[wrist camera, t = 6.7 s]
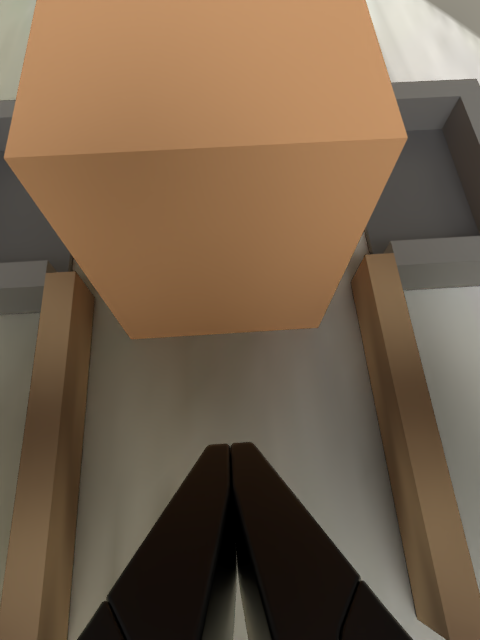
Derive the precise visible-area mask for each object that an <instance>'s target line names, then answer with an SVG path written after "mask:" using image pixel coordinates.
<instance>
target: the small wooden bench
mask: <svg viewBox="0 0 480 640" xmlns="http://www.w3.org/2000/svg"><path fill="white" fill-rule="evenodd" d="M351 285H352V290H353V296H354V301H355V306H356V311H357V316H358V321H359V326H360V331H361V336H362V341H363V346H364V351H365V356H366V361H367V366H368V372H369V377H370V382H371V387H372V392H373V397H374V402H375V407H376V412H377V417H378V422H379V427H380V432H381V437H382V442H383V447H384V453H385V458H386V463H387V468H388V473H389V478H390V483H391V488H392V493H393V498H394V503H395V508H396V513H397V518H398V523H399V529H400V534H401V539H402V544H403V549H404V554H405V559H406V564H407V569H408V574H409V579H410V584H411V589H412V594H413V599H414V604H415V610H416V615H417V619H418V620H419V621H421V622H422V623H424V624H425V625H426V626H428V627H429V628H431V629H432V630H433V631H435V632H436V633H438V634H439V635H441V636H442V637H443V638H445V639H446V640H480V593H479V589H478V585H477V582H476V578H475V574H474V570H473V566H472V562H471V558H470V554H469V550H468V546H467V542H466V538H465V534H464V530H463V526H462V522H461V518H460V514H459V510H458V506H457V502H456V498H455V494H454V490H453V486H452V482H451V478H450V474H449V470H448V466H447V463H446V459H445V455H444V451H443V447H442V443H441V439H440V435H439V431H438V427H437V423H436V419H435V415H434V411H433V407H432V403H431V399H430V395H429V391H428V387H427V383H426V379H425V375H424V371H423V367H422V363H421V359H420V355H419V351H418V348H417V344H416V340H415V336H414V332H413V328H412V324H411V320H410V316H409V312H408V308H407V304H406V300H405V296H404V292H403V288H402V284H401V280H400V276H399V272H398V268H397V264H396V260H395V256H394V253H385V254H368V255H365V256H364V258H363V260H362V262H361V264H360V266H359V268H358V269H357V271H356V273H355V275H354V277H353V279H352V281H351ZM94 299H95V297H94V296H93V294H92V293H91V292H90V290H89V289H88V288H87V286H86V285H85V284H84V282H83V281H82V279H81V278H80V277H79V275H78V274H77V273H76V271H72V272H55V273H46V276H45V283H44V290H43V298H42V305H41V312H40V320H39V327H38V334H37V342H36V349H35V356H34V364H33V371H32V378H31V385H30V393H29V400H28V407H27V415H26V422H25V429H24V437H23V444H22V451H21V459H20V466H19V473H18V481H17V488H16V495H15V503H14V510H13V517H12V525H11V532H10V539H9V546H8V554H7V561H6V568H5V576H4V583H3V590H2V598H1V605H0V640H67V633H68V621H69V608H70V596H71V584H72V571H73V559H74V547H75V534H76V522H77V509H78V497H79V485H80V472H81V460H82V447H83V435H84V423H85V410H86V398H87V386H88V373H89V361H90V348H91V336H92V324H93V311H94Z"/></svg>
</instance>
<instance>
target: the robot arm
mask: <svg viewBox="0 0 480 640" xmlns="http://www.w3.org/2000/svg"><path fill="white" fill-rule="evenodd" d="M230 449H231V451H230ZM236 554H237V558H236ZM237 568H238V578H239V585H240V592H241V598H242V604H243V610H244V616H245V622H246V628H247V634H248V640H413V639H412V638H411V637H410V636H409V634H408V633H407V632H406V631H405V630H404V629H403V627H402V626H401V625H400V624H399V623H398V622H397V620H396V619H395V618H394V617H393V616H392V614H391V613H390V612H389V611H388V610H387V609H386V607H385V606H384V605H383V604H382V603H381V601H380V600H379V599H378V598H377V596H376V595H375V594H374V593H373V591H372V590H371V589H370V588H369V586H368V585H367V584H366V583H365V581H361V578H360V575H359V574H358V573H357V572H356V570H355V569H354V568H353V567H352V565H351V564H350V563H349V562H348V560H347V559H346V558H345V557H344V555H343V554H342V553H341V552H340V551H339V549H338V548H337V547H336V546H335V544H334V543H333V542H332V541H331V539H330V538H329V537H328V536H327V534H326V533H325V532H324V531H323V529H322V528H321V527H320V526H319V524H318V523H317V522H316V521H315V519H314V518H313V517H312V516H311V514H310V513H309V512H308V511H307V509H306V508H305V507H304V506H303V504H302V503H301V502H300V501H299V499H298V498H297V497H296V496H295V494H294V493H293V492H292V491H291V489H290V488H289V487H288V486H287V485H286V483H285V482H284V481H283V480H282V478H281V477H280V476H279V475H278V473H277V472H276V471H275V470H274V468H273V467H272V466H271V465H270V463H269V462H268V461H267V460H266V458H265V457H264V456H263V455H262V453H261V452H260V451H259V450H258V448H257V447H256V446H255V445H254V444H253V443H252V442H242V443H233V444H232V445H231V448H230V446H229V445H228V444H213V445H208V446H207V447H206V449H205V450H204V452H203V453H202V455H201V456H200V458H199V459H198V461H197V462H196V464H195V465H194V467H193V468H192V470H191V471H190V473H189V474H188V476H187V477H186V478H185V480H184V481H183V483H182V484H181V486H180V487H179V489H178V490H177V492H176V493H175V495H174V496H173V498H172V499H171V501H170V502H169V504H168V505H167V507H166V508H165V510H164V511H163V513H162V514H161V516H160V517H159V519H158V520H157V522H156V523H155V525H154V526H153V528H152V529H151V531H150V532H149V534H148V535H147V537H146V538H145V540H144V541H143V543H142V544H141V546H140V547H139V549H138V550H137V552H136V553H135V555H134V556H133V558H132V559H131V561H130V562H129V564H128V565H127V567H126V568H125V570H124V571H123V573H122V574H121V576H120V577H119V579H118V580H117V582H116V583H115V585H114V586H113V588H112V589H111V591H110V592H109V594H108V595H107V597H106V600H107V601H104V602H102V603H101V605H100V606H99V608H98V609H97V611H96V613H95V614H94V616H93V617H92V619H91V620H90V622H89V623H88V625H87V626H86V628H85V629H84V630H83V632H82V633H81V635H80V636H79V637H78V639H77V640H233V633H234V618H235V602H236V584H237Z"/></svg>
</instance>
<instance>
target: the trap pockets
mask: <svg viewBox="0 0 480 640" xmlns="http://www.w3.org/2000/svg"><path fill="white" fill-rule="evenodd" d="M391 85H392V88H393V91H394V94H395V98H396V101H397V104H398V107H399V111H400V114H401V117H402V120H403V123H404V127H405V130H406V133H407V136H408V139H407V141H406V143H405V145H404V147H403V149H402V151H401V153H400V155H399V158H398V160H397V162H396V164H395V166H394V168H393V170H392V172H391V175H390V177H389V179H388V181H387V183H386V185H385V187H384V189H383V191H382V194H381V196H380V198H379V200H378V202H377V204H376V206H375V208H374V211H373V213H372V215H371V217H370V219H369V221H368V223H367V225H366V227H365V234H366V239H367V243H368V247H369V252H370V254H385V253H394V256H395V260H396V264H397V268H398V272H399V276H400V280H401V284H402V288H403V290H419V289H435V288H452V287H468V286H480V86H479V83H478V81H477V79H462V80H440V81H418V82H396V83H391ZM15 101H16V100H2V101H0V315H3V314H20V313H36V312H41V305H42V298H43V290H44V283H45V276H46V273H55V272H71V271H72V262H73V256H72V255H71V253H70V252H69V250H68V249H67V248H66V246H65V245H64V243H63V242H62V240H61V239H60V238H59V236H58V235H57V233H56V232H55V231H54V229H53V228H52V226H51V225H50V223H49V222H48V221H47V219H46V218H45V216H44V215H43V213H42V212H41V211H40V209H39V208H38V206H37V205H36V203H35V202H34V201H33V199H32V198H31V196H30V195H29V193H28V192H27V191H26V189H25V188H24V186H23V185H22V184H21V182H20V181H19V179H18V178H17V176H16V175H15V174H14V172H13V171H12V169H11V168H10V166H9V165H8V164H7V162H6V161H5V159H4V154H5V149H6V144H7V140H8V135H9V130H10V125H11V120H12V116H13V111H14V106H15Z"/></svg>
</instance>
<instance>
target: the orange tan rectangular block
mask: <svg viewBox="0 0 480 640" xmlns="http://www.w3.org/2000/svg"><path fill="white" fill-rule="evenodd" d="M407 139H408V136H407V133H406V130H405V127H404V123H403V120H402V117H401V114H400V111H399V107H398V104H397V101H396V98H395V94H394V91H393V88H392V85H391V81H390V78H389V75H388V72H387V68H386V65H385V62H384V59H383V56H382V52H381V49H380V46H379V43H378V39H377V36H376V33H375V30H374V26H373V23H372V20H371V17H370V14H369V10H368V7H367V4H366V1H365V0H37V1H36V6H35V11H34V15H33V20H32V25H31V30H30V34H29V39H28V44H27V49H26V54H25V58H24V63H23V68H22V73H21V77H20V82H19V87H18V92H17V97H16V101H15V106H14V111H13V116H12V120H11V125H10V130H9V135H8V140H7V144H6V149H5V154H4V159H5V161H6V162H7V164H8V165H9V166H10V168H11V169H12V171H13V172H14V174H15V175H16V176H17V178H18V179H19V181H20V182H21V184H22V185H23V186H24V188H25V189H26V191H27V192H28V193H29V195H30V196H31V198H32V199H33V201H34V202H35V203H36V205H37V206H38V208H39V209H40V211H41V212H42V213H43V215H44V216H45V218H46V219H47V221H48V222H49V223H50V225H51V226H52V228H53V229H54V231H55V232H56V233H57V235H58V236H59V238H60V239H61V240H62V242H63V243H64V245H65V246H66V248H67V249H68V250H69V252H70V253H71V255H72V256H73V258H74V259H75V260H76V262H77V263H78V265H79V266H80V268H81V269H82V270H83V272H84V273H85V275H86V276H87V278H88V279H89V280H90V282H91V283H92V285H93V286H94V288H95V289H96V290H97V292H98V293H99V295H100V296H101V297H102V299H103V300H104V302H105V303H106V305H107V306H108V307H109V309H110V310H111V312H112V313H113V315H114V316H115V317H116V319H117V320H118V322H119V323H120V325H121V326H122V327H123V329H124V330H125V332H126V333H127V335H128V336H129V337H130V339H146V338H162V337H178V336H194V335H210V334H226V333H242V332H257V331H273V330H289V329H305V328H318V327H319V325H320V323H321V321H322V318H323V316H324V314H325V312H326V310H327V308H328V306H329V304H330V302H331V299H332V297H333V295H334V293H335V291H336V289H337V287H338V285H339V282H340V280H341V278H342V276H343V274H344V272H345V270H346V268H347V266H348V263H349V261H350V259H351V257H352V255H353V253H354V251H355V249H356V246H357V244H358V242H359V240H360V238H361V236H362V234H363V232H364V230H365V227H366V225H367V223H368V221H369V219H370V217H371V215H372V213H373V211H374V208H375V206H376V204H377V202H378V200H379V198H380V196H381V194H382V191H383V189H384V187H385V185H386V183H387V181H388V179H389V177H390V175H391V172H392V170H393V168H394V166H395V164H396V162H397V160H398V158H399V155H400V153H401V151H402V149H403V147H404V145H405V143H406V141H407Z"/></svg>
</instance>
